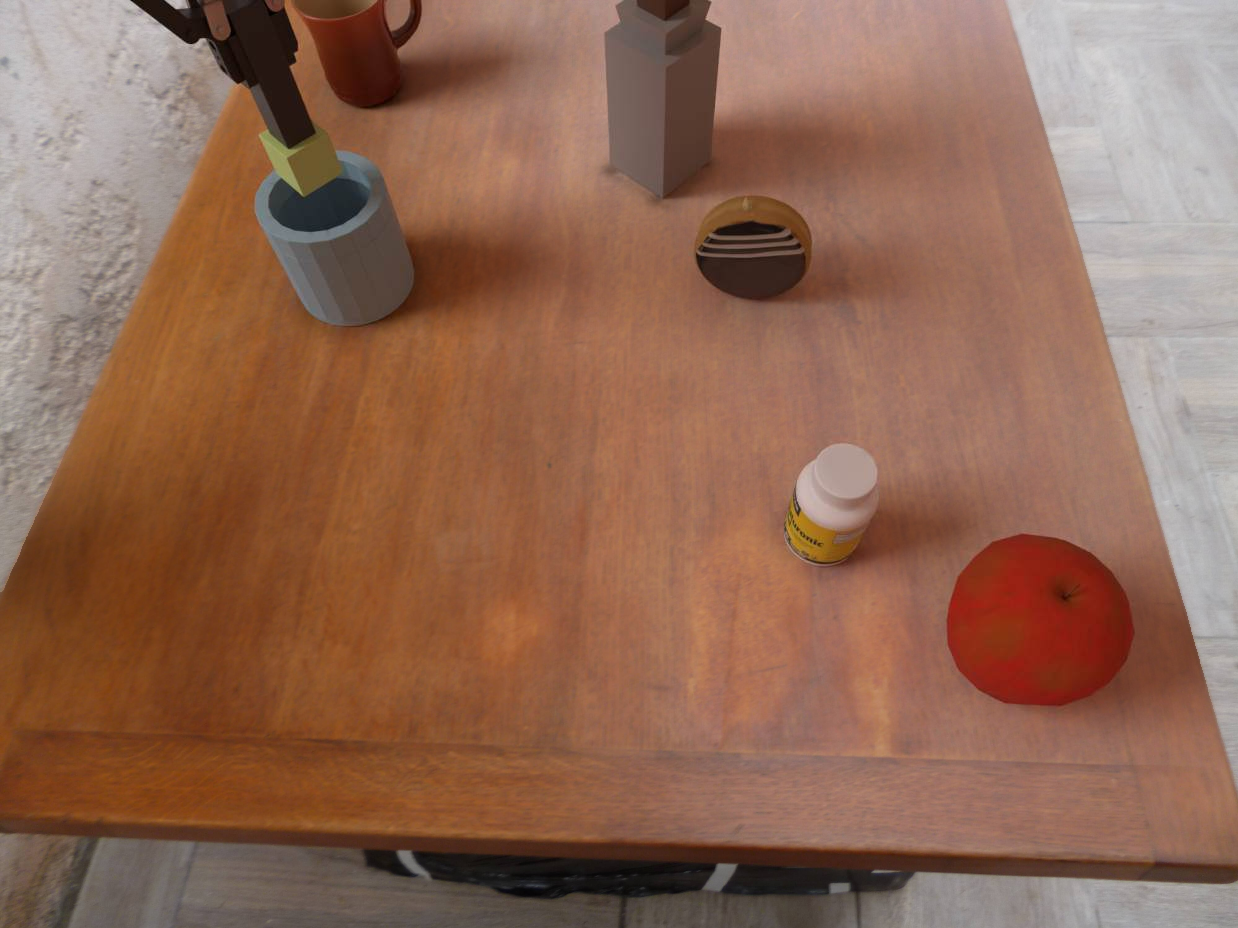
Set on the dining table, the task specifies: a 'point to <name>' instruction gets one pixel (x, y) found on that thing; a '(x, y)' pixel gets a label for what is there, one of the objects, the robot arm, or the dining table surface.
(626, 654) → the dining table surface
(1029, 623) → the apple
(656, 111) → the perfume bottle
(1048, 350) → the dining table surface
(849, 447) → the supplement bottle
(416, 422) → the dining table surface
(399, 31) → the mug
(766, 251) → the doughnut
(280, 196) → the gray tumbler
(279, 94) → the brush
